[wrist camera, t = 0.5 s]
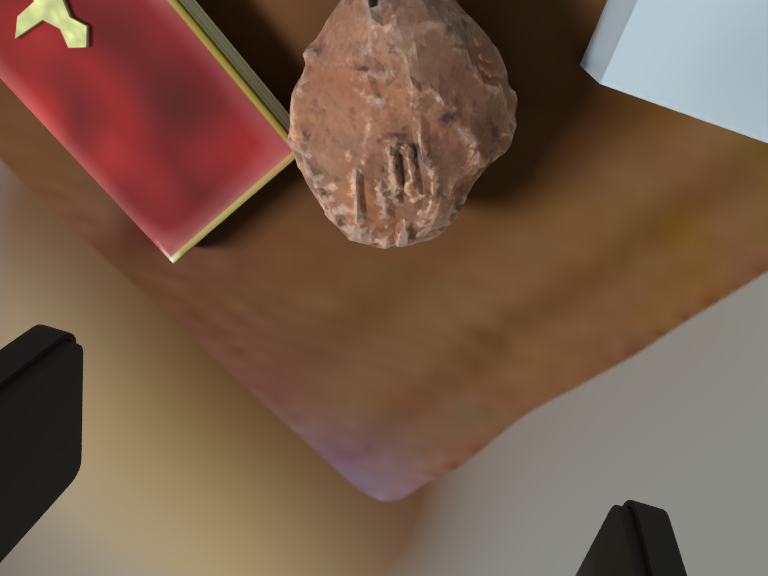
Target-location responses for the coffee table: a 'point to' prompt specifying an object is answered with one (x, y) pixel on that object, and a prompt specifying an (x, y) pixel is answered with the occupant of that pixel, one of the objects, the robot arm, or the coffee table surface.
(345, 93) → the decorative rock
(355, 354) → the coffee table surface
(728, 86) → the cabinet
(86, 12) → the hardcover book
